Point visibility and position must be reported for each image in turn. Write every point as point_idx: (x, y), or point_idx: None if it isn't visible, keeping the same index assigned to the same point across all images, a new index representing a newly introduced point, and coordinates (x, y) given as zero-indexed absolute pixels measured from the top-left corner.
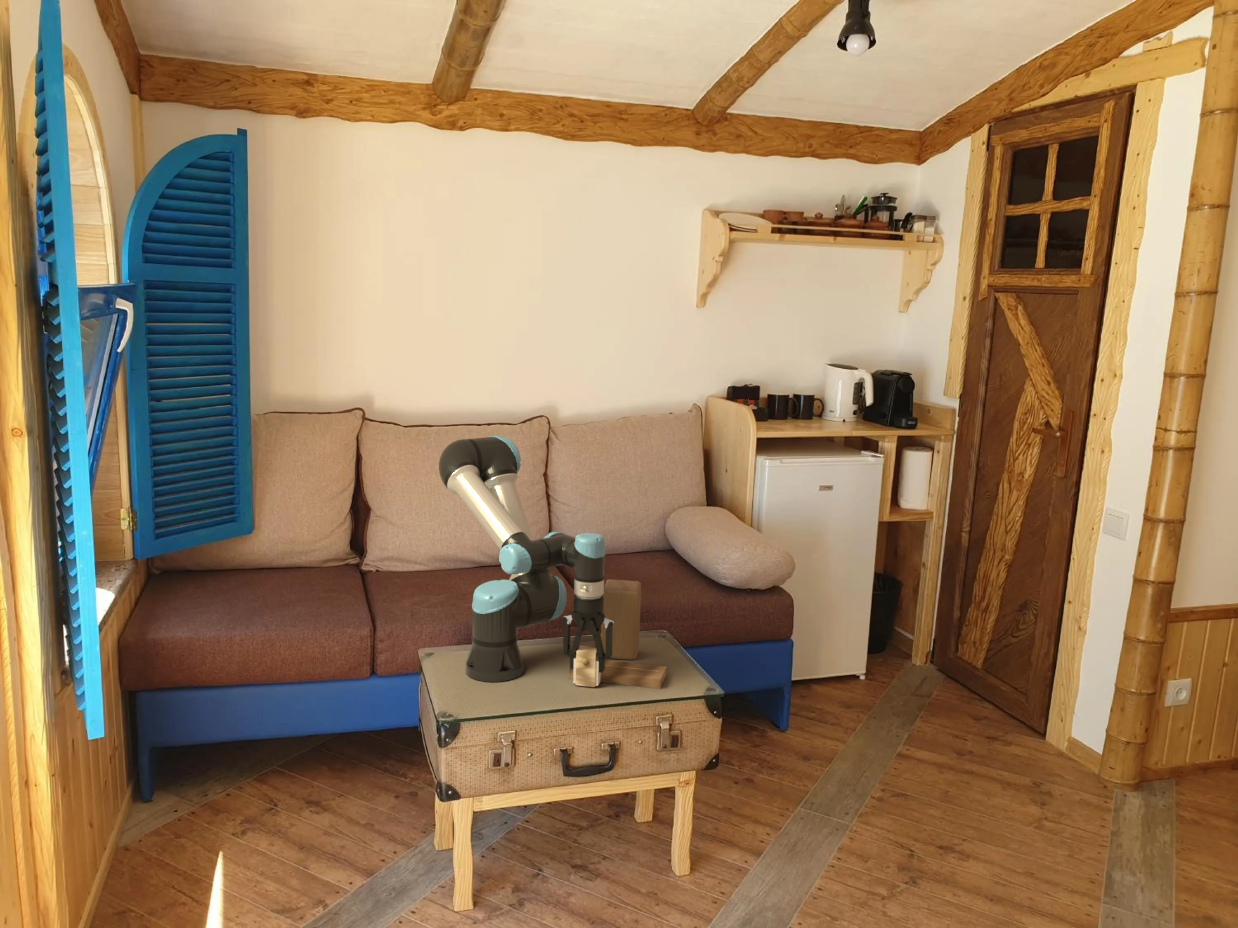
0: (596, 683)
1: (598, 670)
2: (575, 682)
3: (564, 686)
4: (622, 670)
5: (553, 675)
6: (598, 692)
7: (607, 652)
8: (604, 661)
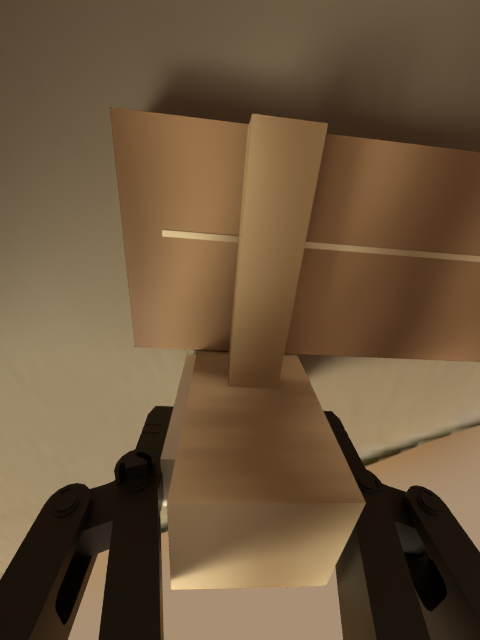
0: None
1: None
2: None
3: (158, 398)
4: (425, 303)
5: (64, 308)
6: None
7: (422, 592)
8: (359, 466)
